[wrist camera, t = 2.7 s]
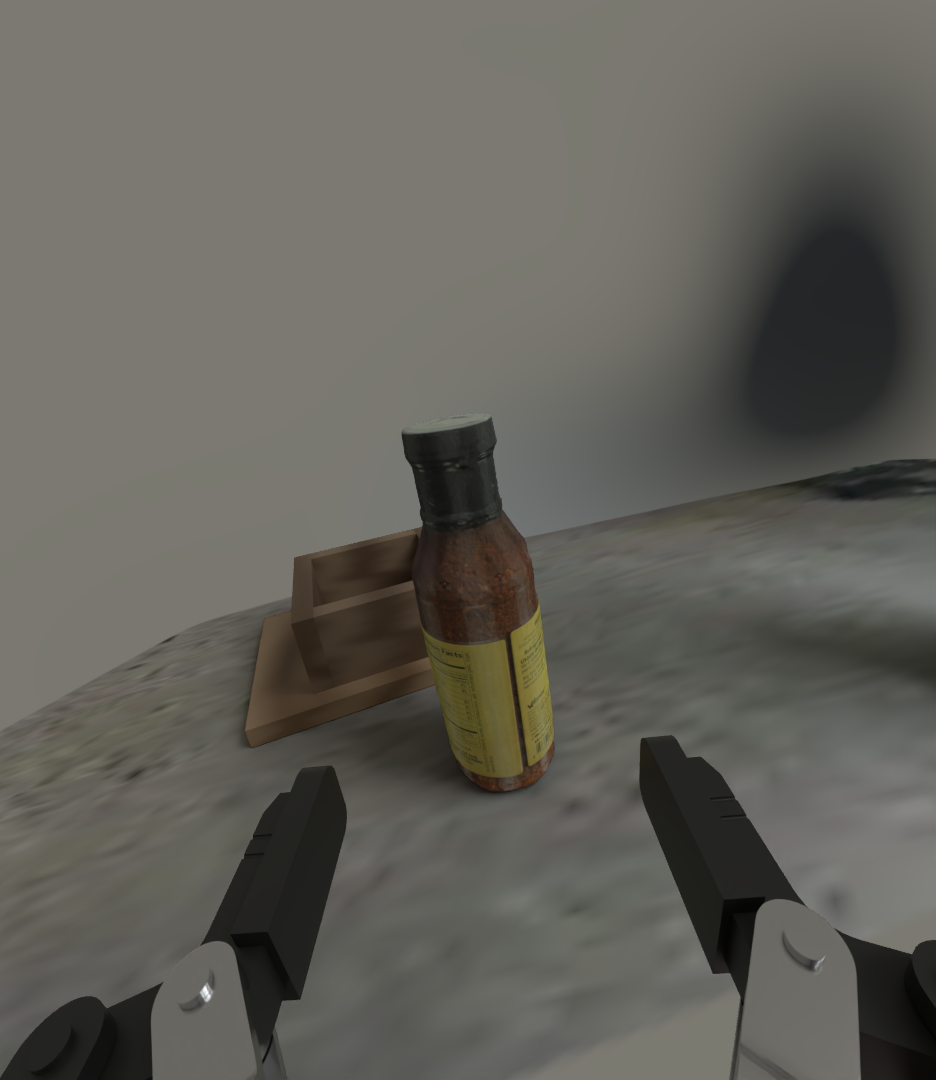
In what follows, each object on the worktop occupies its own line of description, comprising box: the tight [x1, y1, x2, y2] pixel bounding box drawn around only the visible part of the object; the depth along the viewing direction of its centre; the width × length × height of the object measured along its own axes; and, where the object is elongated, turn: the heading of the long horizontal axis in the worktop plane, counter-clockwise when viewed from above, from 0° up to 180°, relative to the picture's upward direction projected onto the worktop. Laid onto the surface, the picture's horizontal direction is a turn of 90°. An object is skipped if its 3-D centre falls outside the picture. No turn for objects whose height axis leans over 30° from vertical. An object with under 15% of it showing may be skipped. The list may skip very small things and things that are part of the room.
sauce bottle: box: [402, 414, 554, 792], centre depth 23 cm, size 7×6×20 cm
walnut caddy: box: [245, 527, 435, 748], centre depth 38 cm, size 22×16×8 cm
